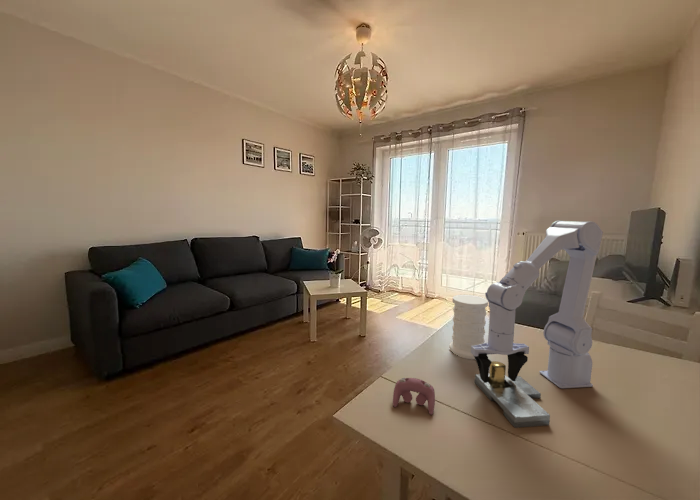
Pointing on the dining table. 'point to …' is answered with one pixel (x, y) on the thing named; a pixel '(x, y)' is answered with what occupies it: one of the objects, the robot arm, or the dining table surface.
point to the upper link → (516, 404)
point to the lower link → (520, 383)
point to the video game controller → (414, 385)
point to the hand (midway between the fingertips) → (497, 379)
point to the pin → (497, 374)
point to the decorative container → (468, 324)
